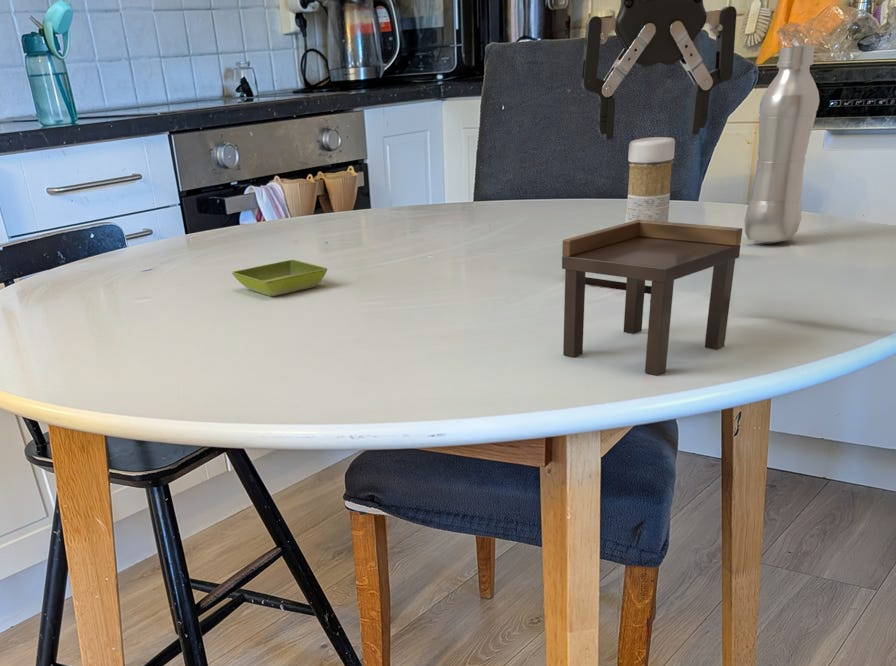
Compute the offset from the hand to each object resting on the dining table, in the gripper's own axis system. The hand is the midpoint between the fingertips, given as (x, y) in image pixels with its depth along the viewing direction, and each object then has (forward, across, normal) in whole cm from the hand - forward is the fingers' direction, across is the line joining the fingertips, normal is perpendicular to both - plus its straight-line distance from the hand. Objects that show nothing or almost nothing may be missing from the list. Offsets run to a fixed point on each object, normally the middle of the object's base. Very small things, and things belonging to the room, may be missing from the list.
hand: (650, 137), depth 89 cm
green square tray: (+14, -41, +7) cm, 44 cm away
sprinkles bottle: (+14, 0, 0) cm, 14 cm away
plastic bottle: (+14, +18, +15) cm, 27 cm away
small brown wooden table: (+14, -4, -27) cm, 30 cm away
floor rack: (+14, 0, 0) cm, 14 cm away
